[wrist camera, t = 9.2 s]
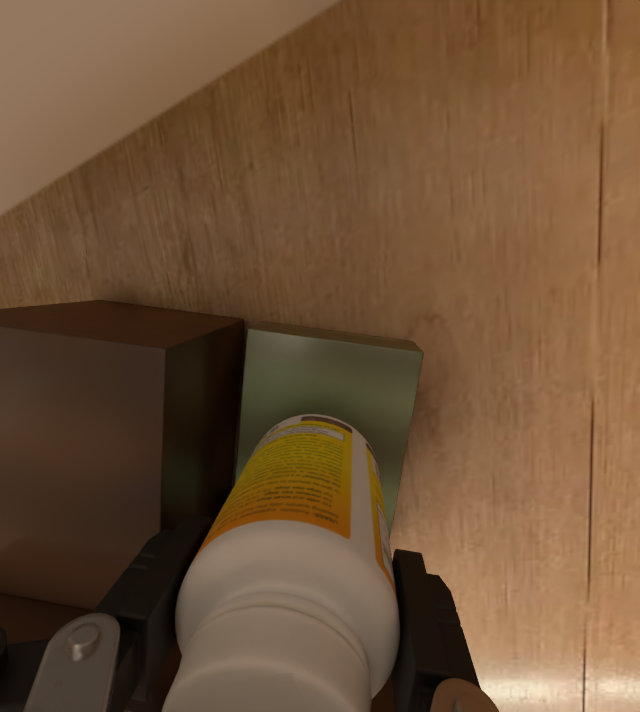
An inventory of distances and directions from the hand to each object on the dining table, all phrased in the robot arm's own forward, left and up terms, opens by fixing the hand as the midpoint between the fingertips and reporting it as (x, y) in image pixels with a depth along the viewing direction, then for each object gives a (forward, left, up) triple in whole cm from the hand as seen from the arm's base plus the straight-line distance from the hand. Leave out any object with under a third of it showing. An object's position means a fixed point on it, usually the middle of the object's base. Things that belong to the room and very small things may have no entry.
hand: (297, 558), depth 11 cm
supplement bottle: (0, 0, -6) cm, 6 cm away
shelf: (+1, -5, -11) cm, 12 cm away
